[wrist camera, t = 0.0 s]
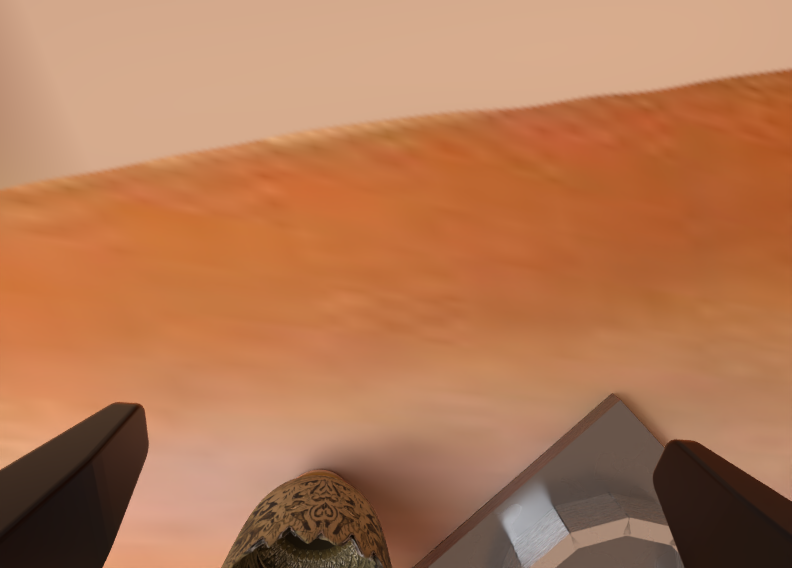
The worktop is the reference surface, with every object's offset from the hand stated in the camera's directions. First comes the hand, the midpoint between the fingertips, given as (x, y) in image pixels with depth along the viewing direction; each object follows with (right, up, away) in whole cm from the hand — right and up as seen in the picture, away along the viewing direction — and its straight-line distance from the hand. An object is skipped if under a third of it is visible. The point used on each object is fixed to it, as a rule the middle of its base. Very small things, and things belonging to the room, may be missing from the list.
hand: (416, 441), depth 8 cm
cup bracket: (+11, -14, +19) cm, 27 cm away
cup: (-4, -8, +17) cm, 20 cm away
